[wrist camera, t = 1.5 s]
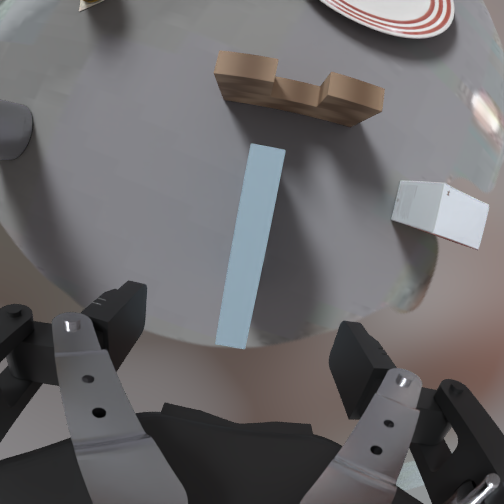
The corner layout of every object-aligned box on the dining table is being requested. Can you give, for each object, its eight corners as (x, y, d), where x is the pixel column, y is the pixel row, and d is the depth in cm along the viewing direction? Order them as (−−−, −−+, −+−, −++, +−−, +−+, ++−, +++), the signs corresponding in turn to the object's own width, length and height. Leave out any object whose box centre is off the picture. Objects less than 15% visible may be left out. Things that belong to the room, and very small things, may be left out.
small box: (389, 219, 37) (431, 234, 26) (399, 179, 35) (443, 181, 25) (434, 234, 37) (479, 251, 27) (443, 197, 36) (490, 205, 26)
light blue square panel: (228, 284, 39) (215, 343, 24) (251, 158, 35) (251, 143, 20) (247, 287, 39) (244, 349, 24) (272, 162, 35) (285, 150, 21)
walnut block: (223, 100, 33) (213, 73, 24) (227, 82, 33) (219, 50, 23) (350, 127, 34) (381, 111, 24) (353, 109, 33) (384, 89, 24)
